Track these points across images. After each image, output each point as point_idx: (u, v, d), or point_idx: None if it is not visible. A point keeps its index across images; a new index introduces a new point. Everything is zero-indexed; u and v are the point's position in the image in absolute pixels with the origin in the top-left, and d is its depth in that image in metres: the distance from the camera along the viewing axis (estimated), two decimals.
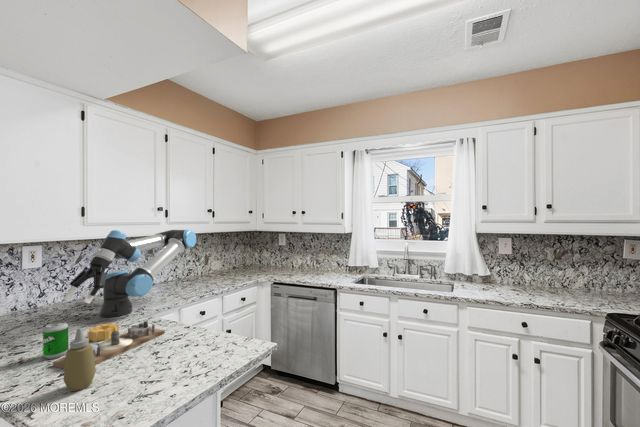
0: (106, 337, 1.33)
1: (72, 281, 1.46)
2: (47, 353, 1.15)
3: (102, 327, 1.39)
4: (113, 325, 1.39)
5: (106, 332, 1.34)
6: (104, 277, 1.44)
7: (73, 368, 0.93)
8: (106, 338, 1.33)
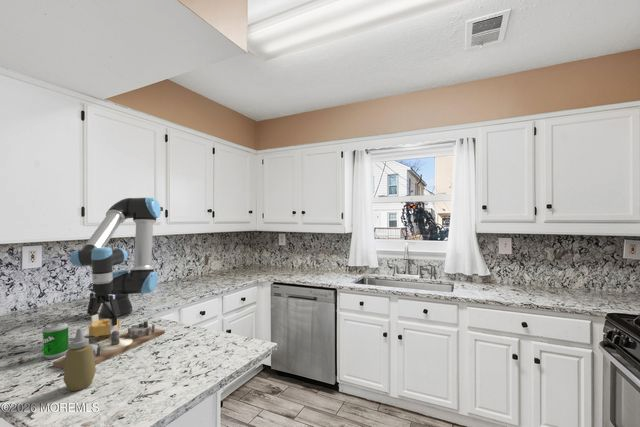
0: (107, 332, 1.34)
1: (88, 310, 1.39)
2: (47, 353, 1.15)
3: (103, 322, 1.40)
4: None
5: (107, 327, 1.34)
6: (116, 304, 1.36)
7: (73, 368, 0.93)
8: (107, 333, 1.34)
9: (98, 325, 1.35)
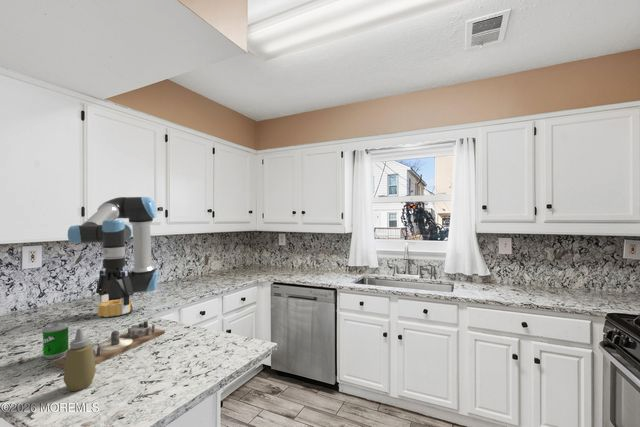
0: (118, 312, 1.21)
1: (97, 289, 1.27)
2: (47, 353, 1.15)
3: (113, 302, 1.27)
4: None
5: (118, 307, 1.21)
6: (128, 282, 1.23)
7: (73, 368, 0.93)
8: (118, 313, 1.21)
9: (108, 304, 1.22)
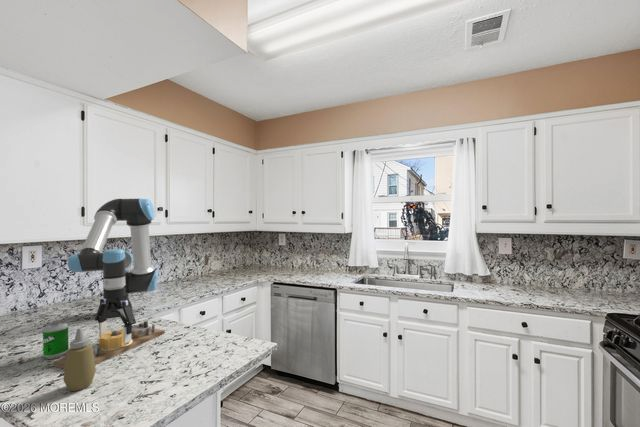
0: (119, 345, 1.21)
1: (96, 317, 1.27)
2: (47, 353, 1.15)
3: None
4: None
5: (119, 339, 1.21)
6: (130, 311, 1.23)
7: (73, 368, 0.93)
8: (119, 346, 1.21)
9: (109, 337, 1.22)
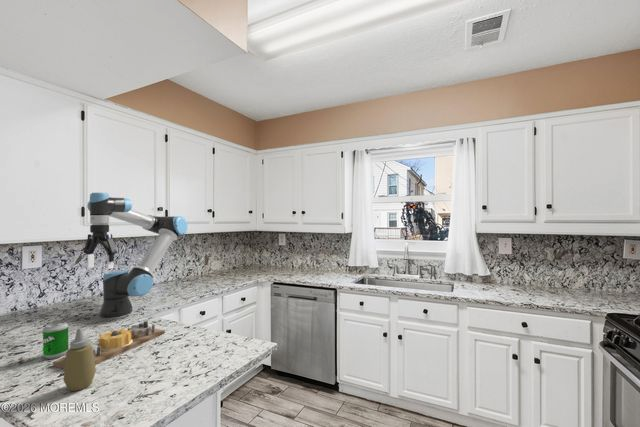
0: (119, 345, 1.21)
1: (84, 250, 1.51)
2: (47, 353, 1.15)
3: None
4: (126, 332, 1.27)
5: (119, 339, 1.21)
6: (112, 242, 1.47)
7: (73, 368, 0.93)
8: (119, 346, 1.21)
9: (109, 337, 1.22)
